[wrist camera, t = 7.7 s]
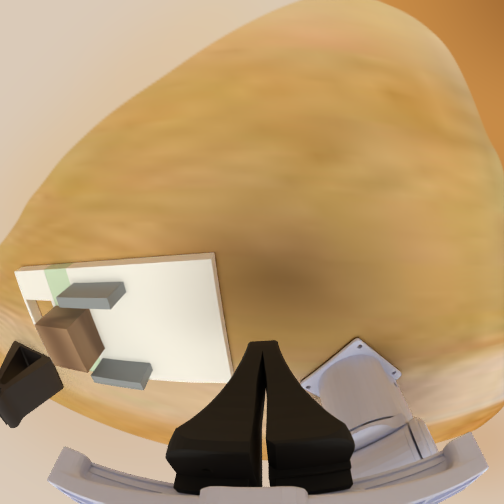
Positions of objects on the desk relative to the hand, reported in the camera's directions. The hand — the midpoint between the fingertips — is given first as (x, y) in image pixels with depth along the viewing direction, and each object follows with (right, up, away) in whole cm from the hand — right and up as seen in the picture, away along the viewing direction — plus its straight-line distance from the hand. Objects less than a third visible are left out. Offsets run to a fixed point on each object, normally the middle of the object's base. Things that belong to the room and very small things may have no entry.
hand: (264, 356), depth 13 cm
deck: (-15, -2, +12) cm, 19 cm away
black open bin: (-33, -12, +16) cm, 38 cm away
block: (-18, -3, +10) cm, 21 cm away
